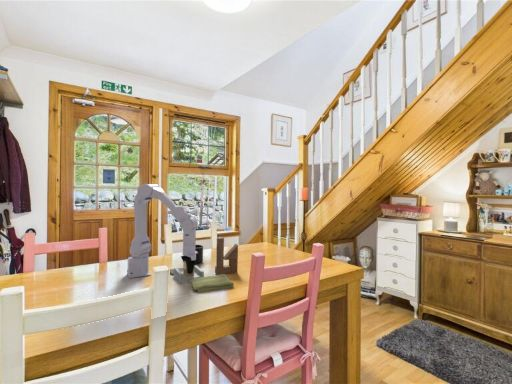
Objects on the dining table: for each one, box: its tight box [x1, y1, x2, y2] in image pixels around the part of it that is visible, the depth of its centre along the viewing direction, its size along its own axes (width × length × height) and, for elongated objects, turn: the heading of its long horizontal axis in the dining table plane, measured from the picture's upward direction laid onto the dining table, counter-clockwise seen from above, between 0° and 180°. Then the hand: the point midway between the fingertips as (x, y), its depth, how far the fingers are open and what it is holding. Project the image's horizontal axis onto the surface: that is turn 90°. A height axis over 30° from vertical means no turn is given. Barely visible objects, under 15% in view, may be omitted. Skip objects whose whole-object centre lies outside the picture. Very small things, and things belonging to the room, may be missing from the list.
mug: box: [195, 244, 204, 265], centre depth 160 cm, size 9×12×9 cm
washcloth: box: [189, 274, 235, 293], centre depth 125 cm, size 13×18×3 cm
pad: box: [169, 267, 183, 276], centre depth 143 cm, size 10×7×1 cm
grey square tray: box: [173, 264, 205, 284], centre depth 133 cm, size 11×11×4 cm
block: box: [182, 261, 194, 276], centre depth 133 cm, size 4×4×6 cm
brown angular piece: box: [214, 236, 239, 275], centre depth 142 cm, size 4×11×18 cm, turn 115°
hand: (188, 272), depth 133 cm, fingers closed on block, 4 cm apart
